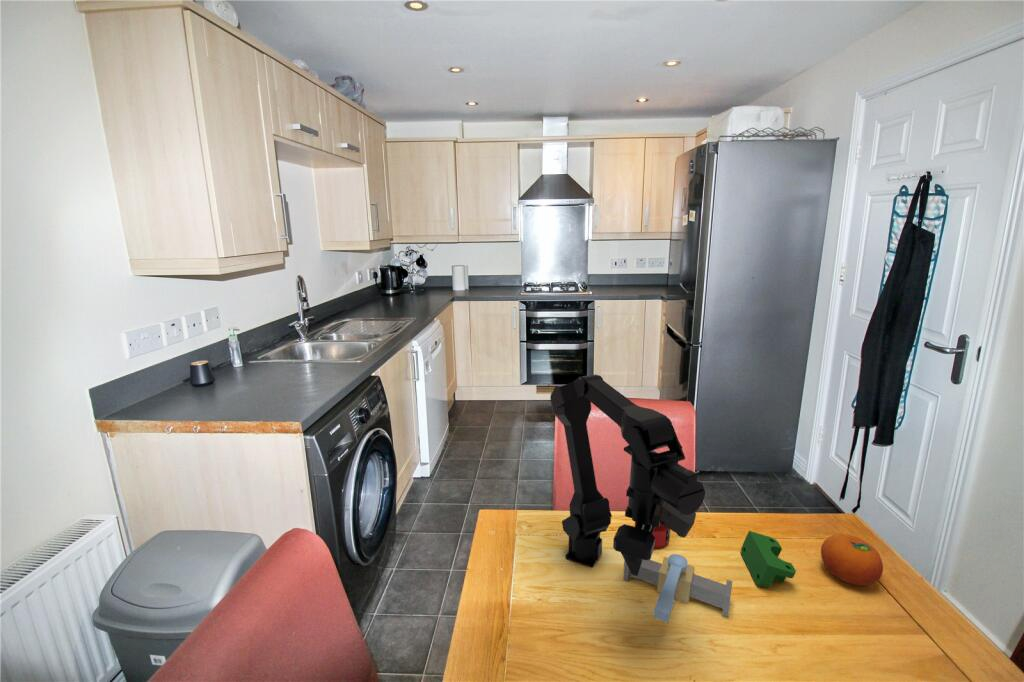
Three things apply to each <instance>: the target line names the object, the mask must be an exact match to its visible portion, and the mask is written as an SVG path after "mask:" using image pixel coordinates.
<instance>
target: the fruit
mask: <svg viewBox="0 0 1024 682" xmlns="http://www.w3.org/2000/svg"><path fill="white" fill-rule="evenodd" d="M820 557H821V559H822V562H823V564H824V566H825V568H826V569H827V570H828V571H829V573H831V574H832V575H833V576H835V577H836V578H838V579H839V580H841V581H843V582H844V583H845V582H846V583H849V584H852V585H858V586H868V585H871V584H874V583H877V582H878V581H879V580H880V578H882V576H883V572H884V571H883V570H884V565H883V561H882V557H881V555H880V553H879V552H878V550H877V549H876V548H875V547H874V546H872V544H870V543H869V542H867V541H866V540H864V539H863V538H861V537H857V536H854V535H852V534H846V533H835V534H832V535H830V536H828V537H827V538H826V539H824V541H823V543H821V546H820Z"/></svg>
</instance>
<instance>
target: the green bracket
mask: <svg viewBox="0 0 1024 682" xmlns="http://www.w3.org/2000/svg"><path fill="white" fill-rule="evenodd" d="M782 550H783V548H782V546H781V544H780V543H779V541H778V540H777V539H775V538H774V537H771V536H769V535H765V534H762V533H758V532H755V531H751V530H748V532H747V534H746V536H745V539H744V541H743V543H742V545H741V548H740V554H741V556H742V558H743V560H744V562H745V564H746V567H747V568H748V571H749V572H750V574H751V576H752V579H753V581H754V582H755V584H756V585H757V586H762V587H763V588H764V587H765V588H770V587H771V586H772V583H773V581H777V582H779V583H785V581H786V578H787V579H793V578H794V577H795V575H796V574H797V569H795V567H794V565H793V564H792V562H788V561H786V560H783V559H781V558H780V557H779V556H780V554H781V552H782Z"/></svg>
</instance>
